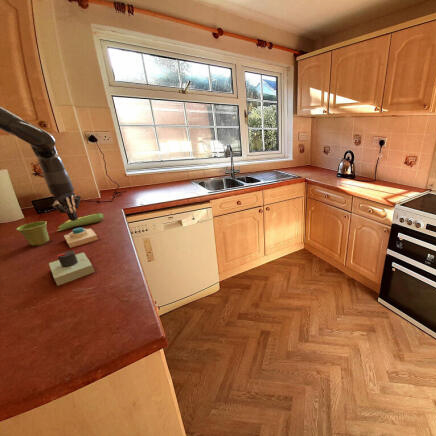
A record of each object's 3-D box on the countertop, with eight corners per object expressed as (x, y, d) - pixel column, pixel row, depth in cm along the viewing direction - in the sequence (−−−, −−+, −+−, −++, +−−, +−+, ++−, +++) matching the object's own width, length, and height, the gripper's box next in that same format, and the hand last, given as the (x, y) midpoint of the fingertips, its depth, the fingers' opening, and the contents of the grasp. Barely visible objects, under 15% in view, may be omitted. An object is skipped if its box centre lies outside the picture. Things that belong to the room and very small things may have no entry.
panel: (51, 270, 88) (48, 262, 87) (86, 258, 95) (83, 251, 94) (57, 285, 79) (53, 277, 78) (94, 272, 86) (91, 264, 85)
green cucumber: (106, 221, 131) (103, 213, 130) (56, 233, 118) (53, 224, 117) (104, 218, 135) (101, 211, 133) (56, 230, 122) (52, 221, 120)
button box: (65, 239, 111) (62, 231, 110) (92, 232, 118) (89, 224, 116) (70, 247, 104) (66, 239, 102) (98, 239, 111) (95, 231, 109)
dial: (76, 259, 89) (72, 248, 87) (78, 263, 86) (74, 252, 84) (61, 264, 86) (56, 253, 84) (62, 268, 83) (57, 258, 81)
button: (73, 232, 109) (71, 229, 109) (83, 230, 112) (81, 226, 111) (74, 235, 107) (73, 231, 106) (84, 232, 110) (83, 228, 109)
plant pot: (29, 250, 103) (19, 231, 100) (22, 245, 107) (13, 227, 104) (57, 241, 110) (49, 223, 107) (50, 236, 115) (42, 219, 112)
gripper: (62, 178, 107) (77, 214, 113) (34, 186, 95) (52, 226, 101) (80, 177, 107) (93, 214, 114) (53, 185, 95) (70, 225, 101)
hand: (74, 219), depth 107 cm, fingers closed
